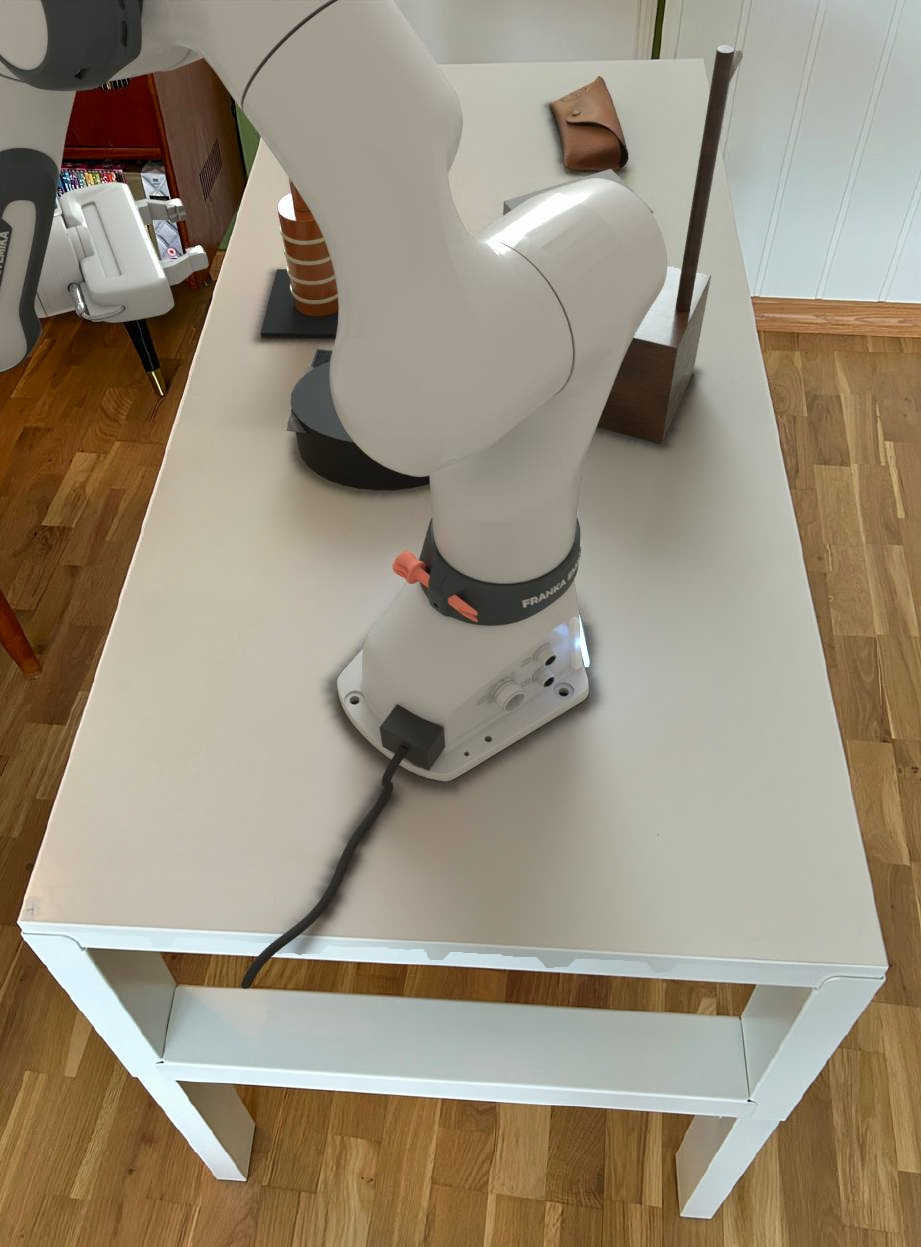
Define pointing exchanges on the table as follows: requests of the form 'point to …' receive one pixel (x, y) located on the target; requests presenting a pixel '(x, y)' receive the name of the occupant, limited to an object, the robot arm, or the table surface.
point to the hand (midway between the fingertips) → (194, 231)
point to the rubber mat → (293, 315)
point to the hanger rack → (672, 303)
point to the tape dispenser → (335, 436)
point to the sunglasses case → (590, 129)
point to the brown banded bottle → (306, 258)
